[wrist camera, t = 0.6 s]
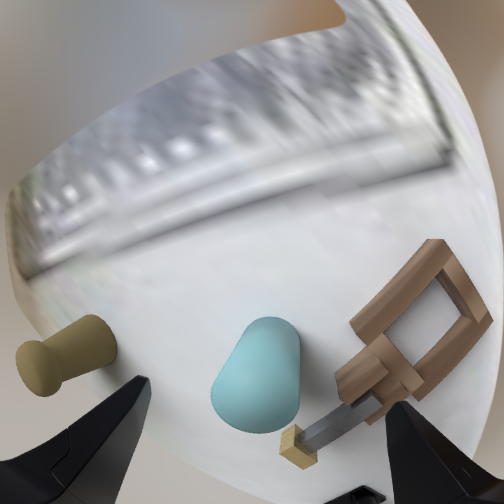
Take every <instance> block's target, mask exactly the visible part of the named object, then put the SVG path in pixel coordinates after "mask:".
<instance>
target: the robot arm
mask: <svg viewBox="0 0 504 504" xmlns="http://www.w3.org/2000/svg"><path fill="white" fill-rule="evenodd" d="M150 399H151V386H150V380H149V378H148V377H144V376H141V375H137V376H135V377H134V378H133V379H131V380H130V381H129V382H128V383H126V384H125V385H124V386H122V387H121V388H120V389H118V390H117V391H116V392H114V393H113V394H112V395H111V396H109V397H108V398H107V399H105V400H104V401H103V402H101V403H100V404H99V405H97V406H96V407H95V408H93V409H92V410H91V411H89V412H88V413H87V414H85V415H84V416H82V417H81V418H80V419H78V420H77V421H76V422H74V423H73V424H72V425H70V426H69V427H68V429H67V428H66V429H65V430H63V431H62V432H60V433H59V434H58V435H56V436H55V437H53V438H51V439H50V440H48V441H47V442H45V443H43V444H41V445H39V446H38V447H36V448H34V449H32V450H30V451H28V452H26V453H24V454H21V455H19V456H17V457H15V458H13V459H10V460H5V461H0V504H115V501H116V498H117V495H118V492H119V490H120V487H121V484H122V482H123V479H124V477H125V474H126V472H127V469H128V466H129V464H130V461H131V458H132V456H133V453H134V451H135V448H136V446H137V443H138V441H139V438H140V436H141V433H142V429H143V425H144V422H145V418H146V414H147V410H148V406H149V402H150ZM385 421H386V434H387V448H388V456H389V462H390V469H391V476H392V484H393V492H394V501H395V504H504V480H501V479H498V478H496V477H494V476H492V475H491V474H490V473H488V472H487V471H485V470H484V469H483V468H481V467H480V466H479V465H477V464H476V463H475V462H473V461H472V460H471V459H470V458H469V457H467V456H466V455H465V454H464V453H463V452H462V451H460V450H459V449H458V448H457V447H456V446H455V445H454V444H453V443H452V442H451V441H450V440H448V439H447V438H446V437H445V436H444V435H443V434H442V433H441V432H440V431H439V430H437V429H436V428H435V427H434V426H433V425H432V424H431V423H430V422H429V421H428V420H426V419H425V418H424V417H423V416H422V415H421V414H420V413H419V412H418V411H417V410H415V409H414V408H413V407H412V406H411V405H410V404H409V403H408V402H407V401H397V402H395V403H394V404H393V406H392V407H391V408H390V410H389V411H388V412H387V414H386V417H385ZM385 500H386V497H385V496H383V495H381V494H379V493H377V492H375V491H373V490H372V489H370V488H368V487H366V486H360V487H358V488H356V489H354V490H353V491H351V492H349V493H347V494H344V495H342V496H340V497H338V498H336V499H334V500H332V501H329V502H327V503H325V504H380V503H382V502H384V501H385Z"/></svg>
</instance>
